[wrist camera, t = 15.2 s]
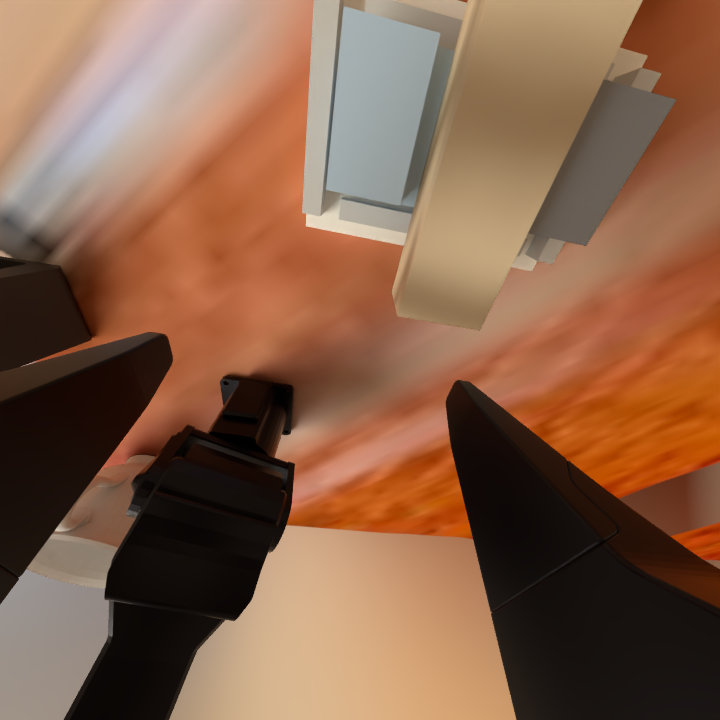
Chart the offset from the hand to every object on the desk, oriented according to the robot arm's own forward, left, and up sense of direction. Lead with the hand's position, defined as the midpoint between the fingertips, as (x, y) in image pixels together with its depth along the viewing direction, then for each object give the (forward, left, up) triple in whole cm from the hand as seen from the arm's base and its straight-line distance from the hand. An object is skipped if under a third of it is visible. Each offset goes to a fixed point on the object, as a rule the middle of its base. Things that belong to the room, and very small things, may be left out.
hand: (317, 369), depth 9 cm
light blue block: (+7, -5, -12) cm, 14 cm away
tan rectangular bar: (+7, -5, -8) cm, 12 cm away
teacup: (-27, +19, -13) cm, 35 cm away
